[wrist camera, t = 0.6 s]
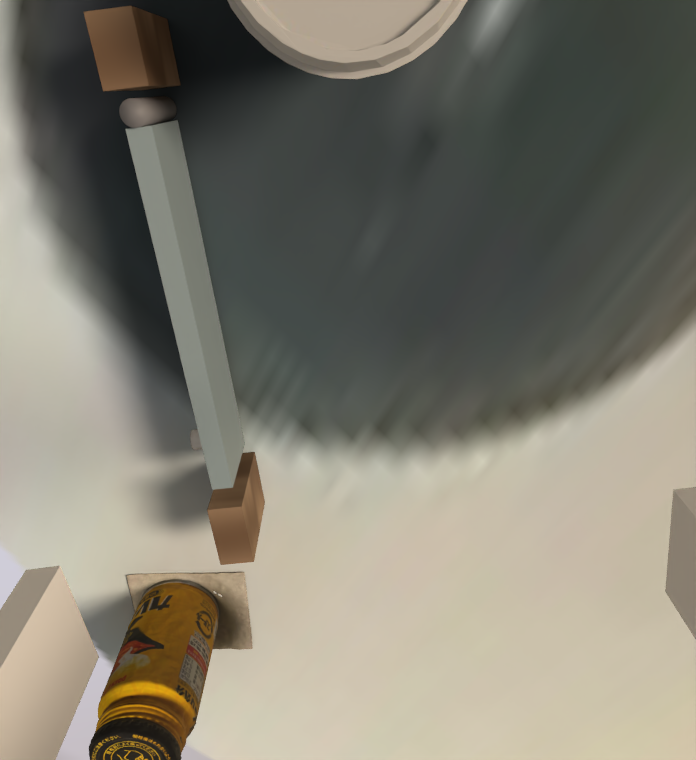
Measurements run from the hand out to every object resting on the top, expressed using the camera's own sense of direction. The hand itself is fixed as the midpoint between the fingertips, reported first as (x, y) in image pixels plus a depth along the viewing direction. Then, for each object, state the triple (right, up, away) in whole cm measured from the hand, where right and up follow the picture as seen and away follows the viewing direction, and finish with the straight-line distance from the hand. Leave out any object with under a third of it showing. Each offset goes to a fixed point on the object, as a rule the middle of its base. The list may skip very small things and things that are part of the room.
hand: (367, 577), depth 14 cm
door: (-9, +10, +23) cm, 27 cm away
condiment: (-12, -13, +34) cm, 38 cm away
